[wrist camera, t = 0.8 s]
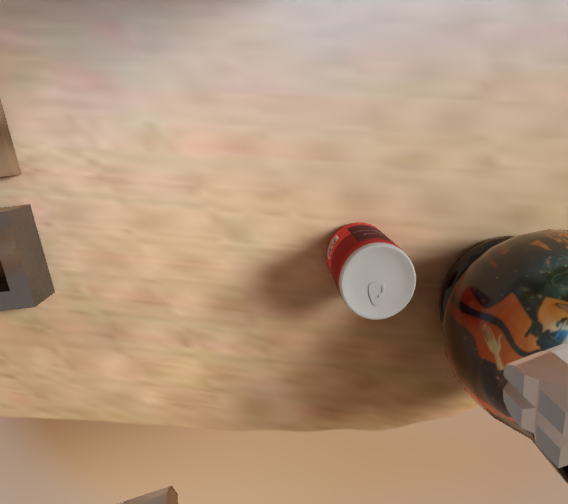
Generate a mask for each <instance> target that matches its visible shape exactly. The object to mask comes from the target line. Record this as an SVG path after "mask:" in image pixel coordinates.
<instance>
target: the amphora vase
mask: <svg viewBox="0 0 568 504" xmlns="http://www.w3.org/2000/svg"><path fill="white" fill-rule="evenodd" d="M439 309H440V317H441V321H442V323H443V335H444V343H445V351H446V357H447V359H448V361H449V363H450V365H451V368H452V370H453V372H454V374H455V376H456V377H457V379H458V380H459V382H460V383H461V385H462V386H463V388H464V389H465V390H466V391H467V392H468V393H469V395H470V396H471V397H472V398H473V399H474V400H475V401H476V402H477V403H478V404H479V405H480V406H481V407H482V408H483V409H484V410H486V411H487V412H488V413H489V414H490V415H491V416H493V417H494V418H495V419H497V420H499V421H500V422H502V423H504V424H506V425H507V426H509V427H511V428H512V429H514V430H516V431H518V432H519V433H521V434H523V435H525V436H526V437H528V438H530V439H531V440H532V441H533V442H534V443H535V436H534V433H532V432H529V431H527V430H525V429H522V428H521V427H520V426H519V425H518V424H517V423H516V422H515V421H514V419H513V418H512V416H511V415H510V413H509V412H508V410H507V408H506V405H505V402H504V400H503V389H504V387H505V386H506V384H507V383H508V380H507V379H506V378H505V377H504V367H505V366H506V365H507V364H508V363H511V362H513V361H516V360H519V359H521V358H524V357H527V356H529V355H532V354H535V353H537V352H540V351H545V350H547V349H550V348H552V347H555V346H558V345H561V344H564V343H565V344H568V230H543V231H537V232H533V233H528V234H523V235H519V236H504V237H499V238H494V239H490V240H488V241H486V242H484V243H481V244H479V245H477V246H475V247H473V248H472V249H471V250H470V251H468V252H467V253H466V254H465V255H463V256H462V257H461V258H460V259H459V260H458V261H457V262H456V264H455V265H454V266H453V268H452V269H451V270H450V271H449V273H448V275H447V277H446V279H445V282H444V284H443V286H442V288H441V295H440V301H439ZM536 446H537V445H536ZM537 447H538V446H537ZM538 448H539V447H538ZM539 450H540V451H541V452H542V453H543V455H544V456H545V457H546V458H547V459H548V461H549V462H550V463H551V464H552V466H553V467H554V468H555V469H556V470H557V472H558V473H559V474H560V475H561V476H562V478H563V479H564V480H565V481H566V482H567V483H568V465H567V466H564V467H561V468H557V467H556V465H555V464H554V463H553V462H552V461H551V460H550V459H549V458H548V457H547V456H546V455H545V454H544V452H543V451H542V450H541V449H540V448H539Z"/></svg>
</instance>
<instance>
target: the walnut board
mask: <svg viewBox="0 0 568 504" xmlns="http://www.w3.org/2000/svg"><path fill="white" fill-rule="evenodd" d="M19 174H21V171H20V168H19V164H18V161H17V157H16V154H15V150H14V147H13V143H12V140H11V136H10V133H9V129H8V126H7V122H6V118H5V115H4V111H3V108H2V104H1V101H0V177H4V176H12V175H19Z"/></svg>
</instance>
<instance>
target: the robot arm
mask: <svg viewBox="0 0 568 504" xmlns="http://www.w3.org/2000/svg"><path fill="white" fill-rule="evenodd" d="M504 377H505V378H506V379H507V380H508V383H507V384H506V386H505V387H504V389H503V400H504V402H505V405H506V408H507V410H508V412H509V413H510V415H511V416H512V418H513V419H514V421H515V422H516V423H517V424H518V425H519V426H520V427H521V428H522V429H525V430H527V431H529V432H532V433H534V436H535V444H536V445H537V446H538V447H539V448H540V449H541V450H542V451H543V452H544V454H545V455H546V456H547V457H548V458H549V459H550V460H551V461H552V462H553V463H554V464H555V465H556V467H557V468H561V467H564V466H567V465H568V344H565V343H564V344H561V345H558V346H555V347H552V348H550V349H547V350H545V351H540V352H537V353H535V354H532V355H529V356H527V357H524V358H521V359H519V360H516V361H513V362H511V363H508V364H507V365H506V366H505V367H504ZM118 504H178V494H177V492H176V491H175V489H174V488H173V487H172V486H169V487H167V488H163V489H160V490H157V491H154V492H151V493H148V494H145V495H143V496H139V497H136V498H133V499H131V500H127V501H124V502H121V503H118Z"/></svg>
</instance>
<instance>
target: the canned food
mask: <svg viewBox="0 0 568 504" xmlns="http://www.w3.org/2000/svg"><path fill="white" fill-rule="evenodd" d="M326 257H327V264H328V266H329V269H330V272H331V274H332V276H333V279H334V281H335V283H336V286H337V288H338V290H339V293H340V295H341V297H342V299H343V300H344V302H345V304H346V305H347V306H348V307H349V308H350V309H351V311H353V312H354V313H355V314H357V315H359V316H361V317H363V318H367V319H371V320H379V319H385V318H388V317H391V316H393V315H395V314H397V313H398V312H400V311H401V310H402V309H403V308H404V307H405V306H406V305H407V304H408V302H409V301H410V299H411V298H412V296H413V293H414V290H415V286H416V272H415V269H414V266H413V264H412V262H411V260H410V259H409V257H408V256H407V255H406V253H405V252H404V251H403V250H402V249H401V248H399V247H398V246H397V245H396V244H395V243H394V242H392V241H391V240H390V239H389V238H388V237H387V236H385V235H384V234H383V233H382V232H381V231H380V230H378V229H377V228H376V227H374V226H372V225H370V224H367V223H351V224H349V225H346V226H344V227H342V228H341V229H339V230H338V231H337V232H336V233H335V234H334V236H333V237H332V238H331V240H330V242H329V244H328V248H327V256H326Z"/></svg>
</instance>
